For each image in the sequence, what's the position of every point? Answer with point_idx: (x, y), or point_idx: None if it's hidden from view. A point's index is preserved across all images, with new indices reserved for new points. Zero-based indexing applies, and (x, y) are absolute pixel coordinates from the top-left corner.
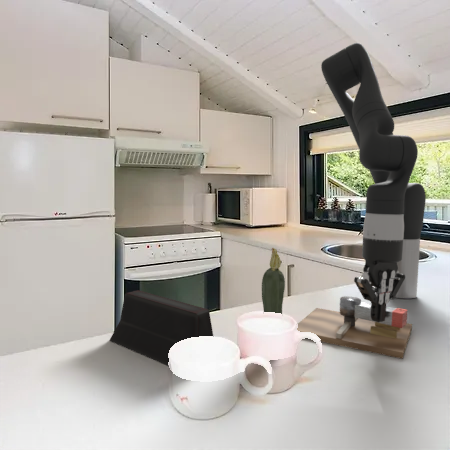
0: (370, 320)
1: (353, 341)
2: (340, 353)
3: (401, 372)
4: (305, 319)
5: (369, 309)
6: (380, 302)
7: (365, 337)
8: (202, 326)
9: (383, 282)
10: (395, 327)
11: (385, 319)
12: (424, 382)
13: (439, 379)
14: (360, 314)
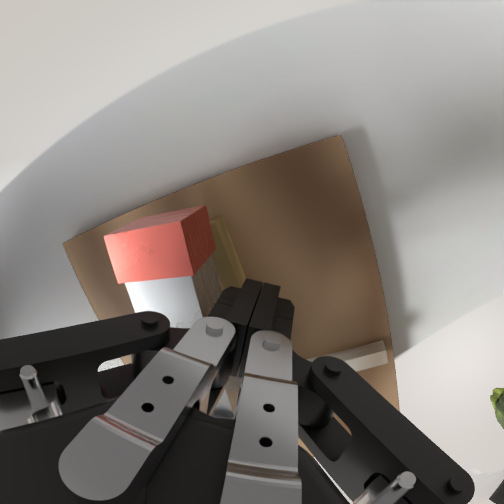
0: None
1: (376, 304)
2: (439, 295)
3: (436, 102)
4: None
5: None
6: (280, 341)
7: (308, 295)
8: None
9: (265, 448)
10: None
11: (212, 285)
12: (438, 37)
13: (386, 10)
14: (238, 377)
